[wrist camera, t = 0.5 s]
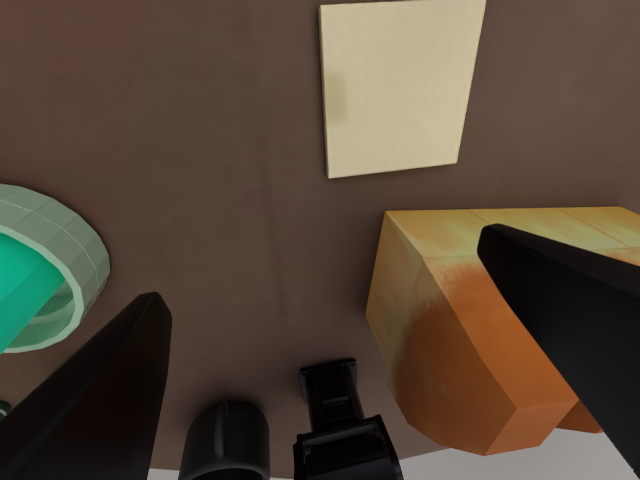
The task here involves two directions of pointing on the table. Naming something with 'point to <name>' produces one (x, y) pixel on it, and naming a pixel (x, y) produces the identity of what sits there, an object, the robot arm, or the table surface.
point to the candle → (23, 286)
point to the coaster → (396, 82)
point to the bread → (476, 325)
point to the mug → (227, 445)
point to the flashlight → (4, 409)
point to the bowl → (55, 262)
